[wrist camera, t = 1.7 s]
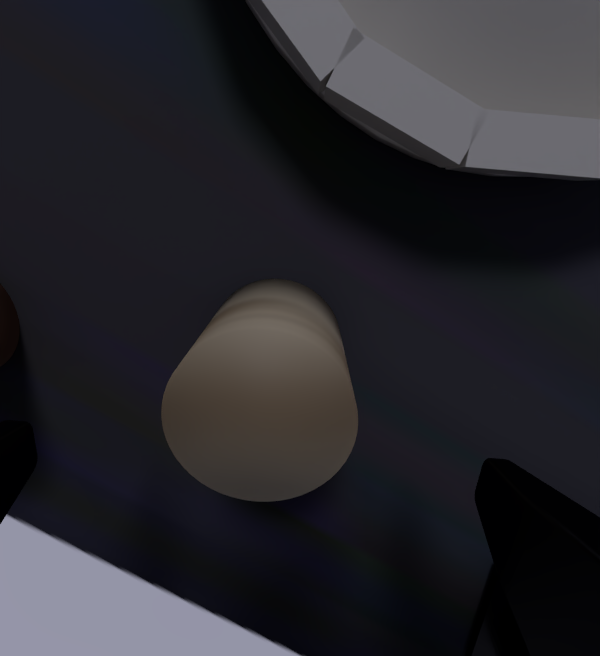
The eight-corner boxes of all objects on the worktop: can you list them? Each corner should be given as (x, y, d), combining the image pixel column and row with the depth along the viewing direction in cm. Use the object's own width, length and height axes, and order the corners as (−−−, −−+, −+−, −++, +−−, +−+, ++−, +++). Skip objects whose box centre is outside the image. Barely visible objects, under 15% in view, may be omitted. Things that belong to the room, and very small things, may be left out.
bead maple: (333, 402, 14) (345, 508, 10) (211, 393, 14) (164, 494, 10) (347, 284, 13) (371, 340, 8) (212, 273, 13) (156, 323, 8)
